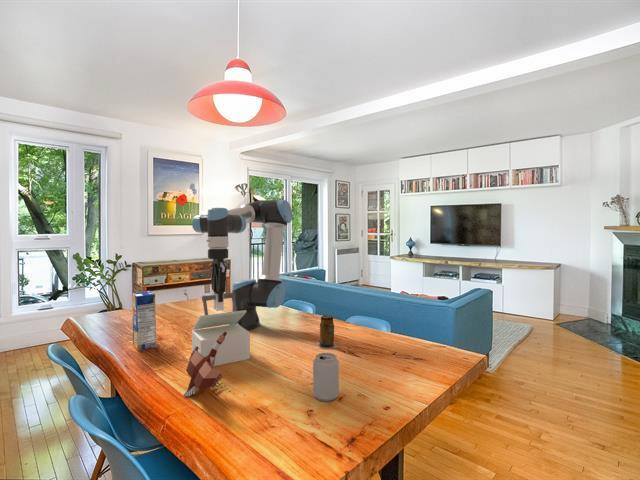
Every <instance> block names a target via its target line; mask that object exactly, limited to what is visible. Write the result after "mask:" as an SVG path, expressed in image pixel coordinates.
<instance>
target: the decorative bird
mask: <svg viewBox="0 0 640 480" xmlns="http://www.w3.org/2000/svg"><path fill="white" fill-rule="evenodd" d="M226 334H227V332H224V333H223V334H222V335H221V336H219V338H218V339H217V341H216V343H215V344H214V346H213V347H212V349H211V351H210V353H209V355H208V356H206V357H203V356H202V355H201V354H200V353H199V352H198V349H199V347H197V346H196V347H195V348H194V350H195V351H193V353H192V352H191V353H190V357H189V362H188V363H187V366H186V369H185V370H186V373H187V375H188V376H189V377H190V381H189V384H188V386H187V387H186V390H185V392H184V394H183V396H184V398H188V397H189V398H190V397H191V396H193V395H195V394H196V389H198V390H205V389H209V388H210V390H211V391H213V389H214V388H220V389H219V390H222V389H224V388H226V387H227V385H226V384H224V383H225V382H224V381H221V379H222V378H223V374H222V372H221V371H218V370H215V369H214V367H215V366H214V364H215V356H216V353H217V350H218V348H219V346H220V345H221V344H222V343H223V341H224V340H225V336H226ZM219 381H221V382H219ZM221 385H222V386H221Z"/></svg>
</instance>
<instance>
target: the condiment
mask: <svg viewBox="0 0 640 480" xmlns="http://www.w3.org/2000/svg"><path fill="white" fill-rule="evenodd" d="M316 345H317V346H319V347H320V348H321V349H323V350H328V349H336V348H339V345H337V344H336V343H335V323H334V317H333V316H332V315H327V314H326V315H322V316H320V323H319V341H318V342H316Z"/></svg>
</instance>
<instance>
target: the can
mask: <svg viewBox="0 0 640 480" xmlns="http://www.w3.org/2000/svg"><path fill="white" fill-rule="evenodd" d="M337 357H338V356H337V354H335V353H332V352H321V353H320V352H319V353H317V354H315V358H314V359H313V362H312V364H313V365H312V367H313V368H312V369H313V370H312V371H313V373H312V375H313V377H312V378H313V379H312V380H313V382H312V383H313V384H312V386H313V387H312V390H313V391H312V392H313V393H312V394H313V396H314V397H315V398H316V399H317V400H319V401H322V402H331V401H333V400H335V399H336V398H338V396H339V394H340V391H339V389H340V386H339V385H340V379H339V378H340V376H339V375H340V372H339V371H340V364H339V362H340V361H339V360H338V358H337Z"/></svg>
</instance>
